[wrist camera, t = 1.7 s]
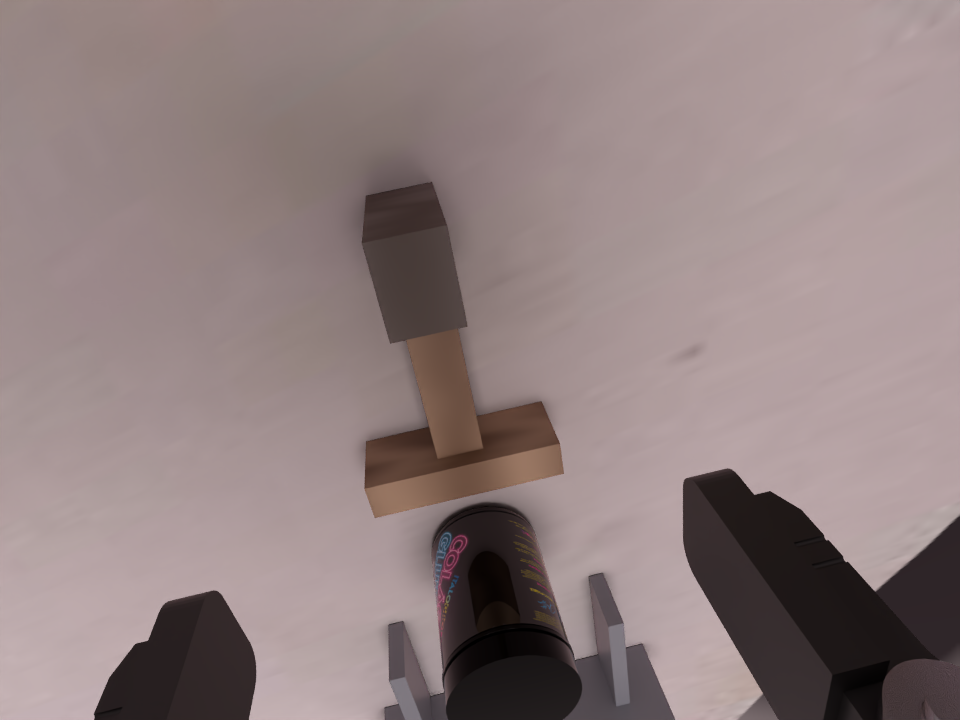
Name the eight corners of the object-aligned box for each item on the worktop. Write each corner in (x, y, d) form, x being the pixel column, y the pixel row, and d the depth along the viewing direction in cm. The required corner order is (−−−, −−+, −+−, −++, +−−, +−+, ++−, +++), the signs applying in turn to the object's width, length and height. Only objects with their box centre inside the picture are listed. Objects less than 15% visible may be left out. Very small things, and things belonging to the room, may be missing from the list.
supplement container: (467, 485, 35) (496, 640, 26) (555, 522, 38) (610, 675, 29) (409, 560, 37) (418, 726, 28) (496, 590, 40) (530, 752, 31)
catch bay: (388, 716, 45) (389, 806, 39) (352, 633, 40) (347, 723, 35) (643, 653, 46) (676, 732, 40) (637, 564, 41) (675, 641, 35)
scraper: (375, 468, 34) (374, 563, 28) (289, 212, 26) (261, 264, 20) (545, 429, 34) (580, 514, 28) (507, 166, 27) (544, 204, 21)
